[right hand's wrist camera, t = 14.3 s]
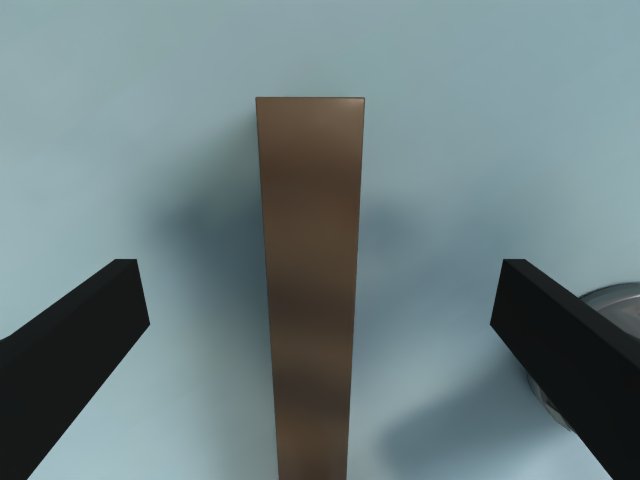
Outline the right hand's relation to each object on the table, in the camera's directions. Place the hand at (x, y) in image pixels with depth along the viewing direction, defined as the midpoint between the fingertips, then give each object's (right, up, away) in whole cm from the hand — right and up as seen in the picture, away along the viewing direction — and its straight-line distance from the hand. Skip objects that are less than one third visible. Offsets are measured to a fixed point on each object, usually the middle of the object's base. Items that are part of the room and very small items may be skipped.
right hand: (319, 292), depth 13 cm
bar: (-1, -26, +26) cm, 36 cm away
